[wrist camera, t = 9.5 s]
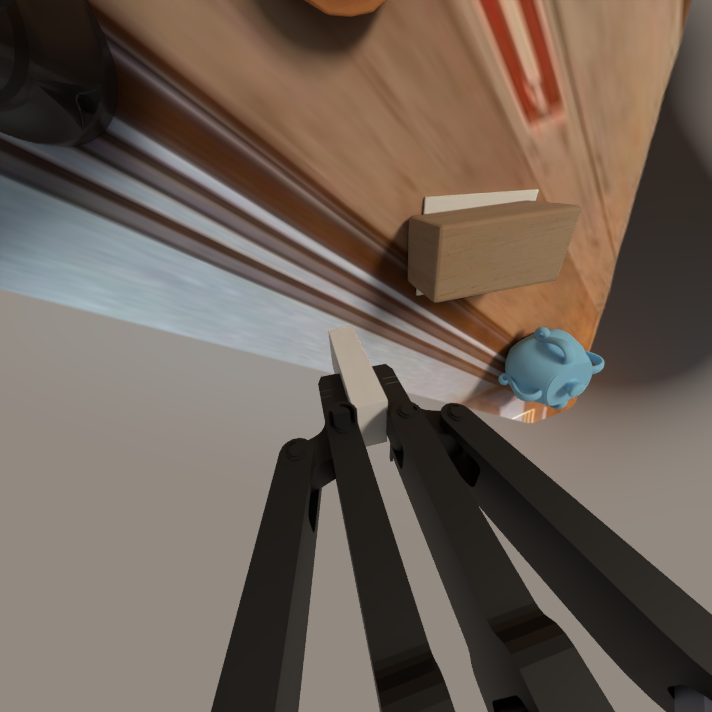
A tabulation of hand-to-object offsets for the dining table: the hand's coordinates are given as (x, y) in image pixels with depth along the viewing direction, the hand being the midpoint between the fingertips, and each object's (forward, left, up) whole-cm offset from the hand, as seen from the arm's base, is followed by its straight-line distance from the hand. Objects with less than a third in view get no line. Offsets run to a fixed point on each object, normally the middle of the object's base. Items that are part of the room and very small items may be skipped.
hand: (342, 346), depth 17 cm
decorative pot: (+28, +47, -28) cm, 62 cm away
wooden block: (+2, +15, -23) cm, 27 cm away
